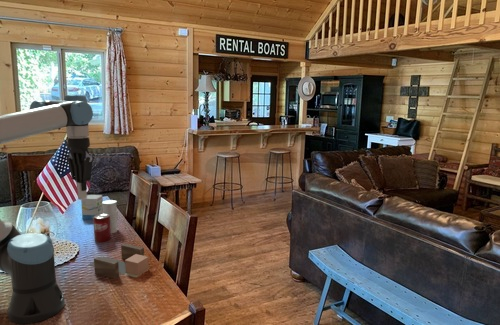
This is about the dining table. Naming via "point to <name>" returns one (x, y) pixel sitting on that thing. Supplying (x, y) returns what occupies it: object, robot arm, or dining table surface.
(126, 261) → the terracotta block
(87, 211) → the ink box
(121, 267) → the mat
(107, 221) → the soda can
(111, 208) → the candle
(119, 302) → the dining table surface
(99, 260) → the tunnel walls
